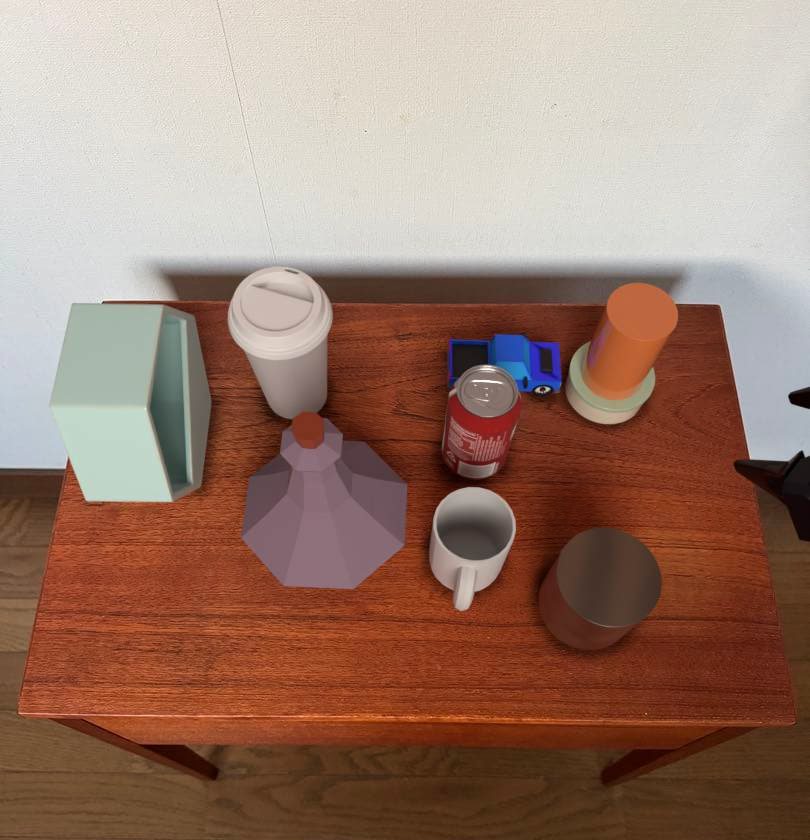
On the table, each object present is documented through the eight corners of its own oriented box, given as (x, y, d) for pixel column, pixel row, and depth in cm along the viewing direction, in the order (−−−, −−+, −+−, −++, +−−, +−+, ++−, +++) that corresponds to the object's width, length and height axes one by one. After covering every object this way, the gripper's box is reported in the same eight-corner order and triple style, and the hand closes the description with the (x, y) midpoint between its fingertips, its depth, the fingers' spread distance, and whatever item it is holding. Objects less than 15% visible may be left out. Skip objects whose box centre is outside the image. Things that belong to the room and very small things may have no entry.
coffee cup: (359, 390, 79) (353, 297, 65) (298, 449, 76) (278, 364, 62) (295, 342, 81) (276, 242, 67) (233, 397, 78) (200, 305, 64)
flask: (379, 435, 77) (376, 311, 58) (435, 575, 71) (451, 486, 52) (227, 482, 74) (173, 368, 56) (272, 631, 68) (228, 558, 50)
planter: (214, 480, 79) (153, 513, 59) (143, 479, 79) (56, 512, 59) (208, 319, 76) (142, 296, 56) (134, 318, 76) (40, 294, 56)
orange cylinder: (656, 380, 76) (693, 319, 67) (608, 411, 75) (639, 352, 65) (615, 337, 78) (645, 271, 69) (567, 365, 77) (592, 302, 67)
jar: (650, 366, 81) (660, 348, 78) (639, 434, 77) (649, 419, 74) (570, 347, 81) (577, 329, 78) (556, 414, 78) (562, 398, 75)
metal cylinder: (637, 573, 71) (668, 541, 63) (624, 661, 68) (654, 639, 60) (547, 550, 72) (566, 516, 64) (529, 636, 69) (547, 611, 61)
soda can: (498, 489, 74) (516, 431, 63) (434, 474, 75) (441, 412, 64) (511, 434, 77) (532, 368, 66) (449, 419, 78) (459, 351, 66)
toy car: (557, 404, 79) (567, 377, 74) (446, 400, 78) (449, 374, 74) (554, 352, 81) (563, 324, 77) (446, 349, 81) (449, 320, 76)
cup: (504, 530, 73) (519, 492, 65) (495, 627, 69) (509, 600, 61) (433, 520, 73) (438, 481, 65) (419, 616, 69) (423, 588, 61)
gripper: (1014, 266, 50) (792, 289, 63) (887, 443, 44) (672, 429, 57) (1032, 395, 55) (824, 392, 68) (920, 567, 50) (716, 528, 63)
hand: (763, 431), depth 64 cm, fingers open, 9 cm apart
